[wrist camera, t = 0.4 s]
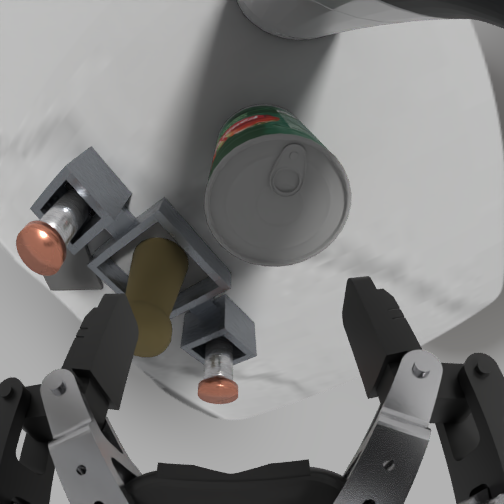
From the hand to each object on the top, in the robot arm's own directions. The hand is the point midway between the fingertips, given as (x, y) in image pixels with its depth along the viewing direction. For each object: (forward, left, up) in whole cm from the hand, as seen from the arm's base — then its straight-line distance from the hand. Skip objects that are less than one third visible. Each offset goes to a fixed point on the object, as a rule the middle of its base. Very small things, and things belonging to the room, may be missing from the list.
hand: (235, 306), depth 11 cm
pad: (+10, -21, -18) cm, 29 cm away
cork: (+11, -9, -18) cm, 22 cm away
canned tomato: (0, +2, -18) cm, 18 cm away
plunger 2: (+20, -3, -14) cm, 25 cm away
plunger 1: (+2, -14, -14) cm, 20 cm away
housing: (+11, -9, -18) cm, 22 cm away
